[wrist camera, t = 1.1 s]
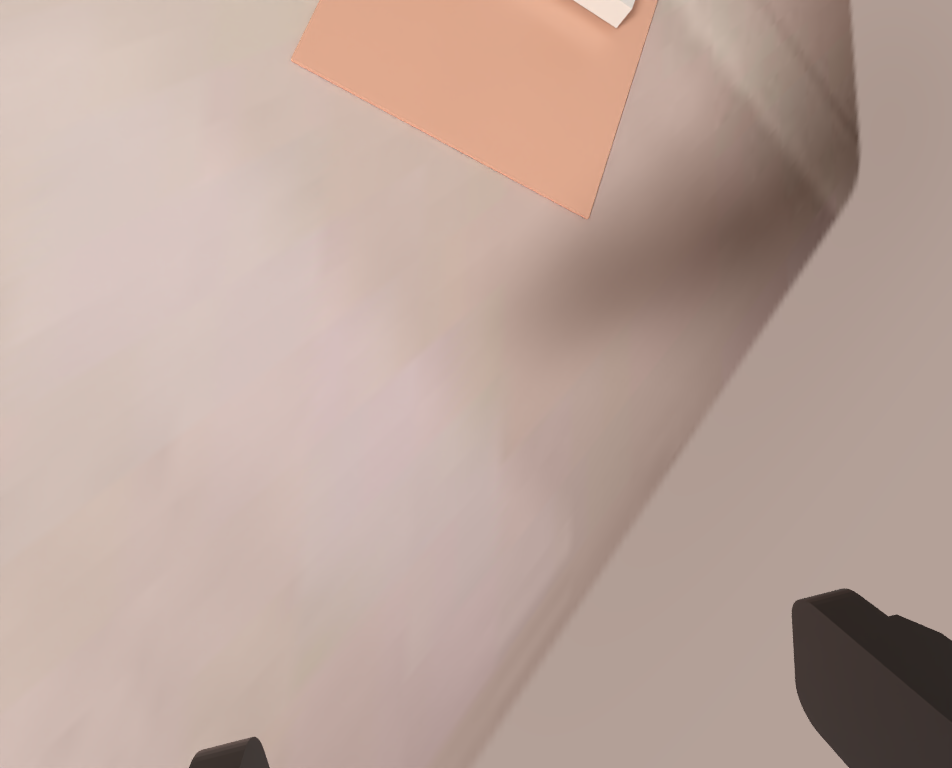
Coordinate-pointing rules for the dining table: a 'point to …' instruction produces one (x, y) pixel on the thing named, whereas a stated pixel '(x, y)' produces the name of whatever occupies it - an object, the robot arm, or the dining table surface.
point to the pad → (491, 79)
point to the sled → (609, 9)
